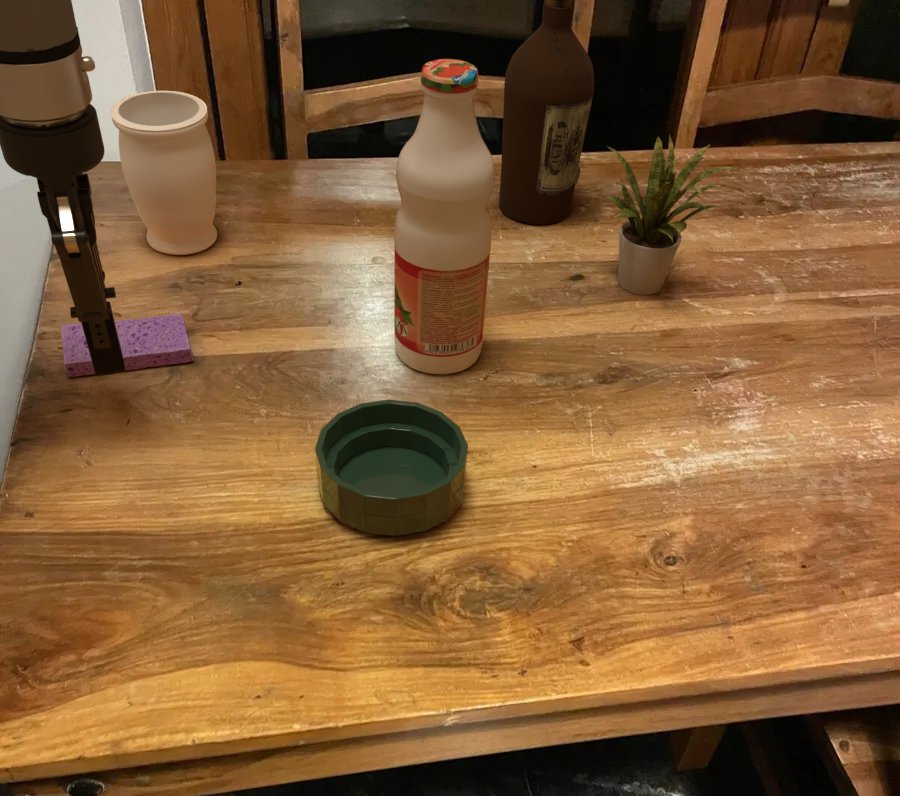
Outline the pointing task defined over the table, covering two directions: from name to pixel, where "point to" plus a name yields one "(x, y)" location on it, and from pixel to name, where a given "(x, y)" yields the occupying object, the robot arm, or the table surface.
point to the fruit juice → (443, 226)
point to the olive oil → (545, 120)
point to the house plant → (655, 219)
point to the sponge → (132, 344)
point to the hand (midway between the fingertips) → (109, 367)
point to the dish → (391, 467)
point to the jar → (169, 168)
